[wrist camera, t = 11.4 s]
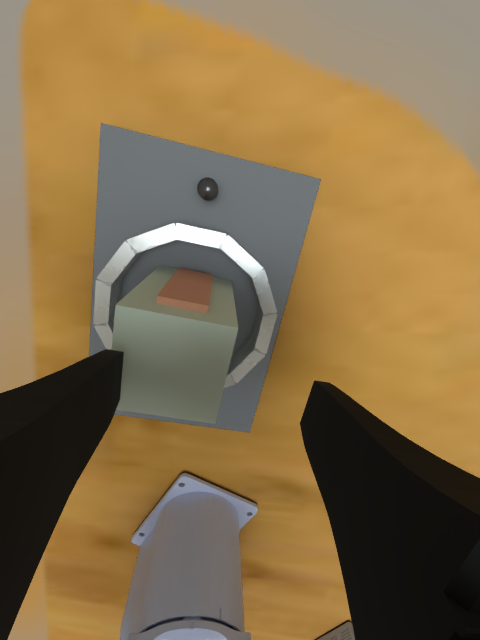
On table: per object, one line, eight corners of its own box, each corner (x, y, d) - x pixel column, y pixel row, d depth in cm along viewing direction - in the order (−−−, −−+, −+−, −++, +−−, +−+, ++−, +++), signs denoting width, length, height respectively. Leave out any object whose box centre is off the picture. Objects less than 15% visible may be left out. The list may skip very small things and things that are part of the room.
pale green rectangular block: (232, 275, 18) (240, 320, 11) (217, 343, 20) (215, 424, 12) (161, 260, 18) (116, 296, 10) (151, 331, 19) (106, 408, 12)
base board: (248, 422, 24) (249, 432, 23) (93, 400, 22) (86, 410, 21) (314, 181, 18) (321, 179, 17) (109, 128, 16) (100, 123, 15)
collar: (249, 387, 21) (253, 409, 19) (102, 365, 20) (86, 385, 17) (298, 203, 17) (310, 202, 15) (116, 159, 16) (98, 150, 13)
